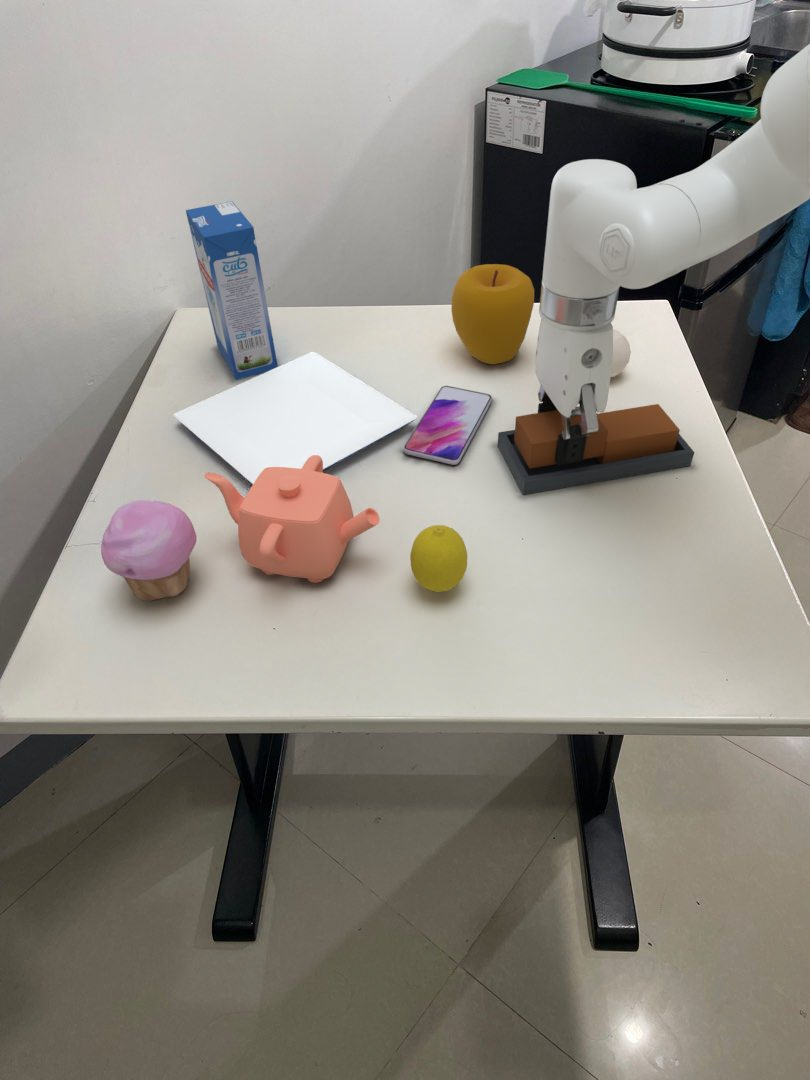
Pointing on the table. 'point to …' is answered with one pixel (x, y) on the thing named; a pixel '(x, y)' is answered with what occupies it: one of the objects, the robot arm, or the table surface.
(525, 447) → the brown brick
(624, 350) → the light bulb
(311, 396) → the plate
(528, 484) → the frame
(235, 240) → the milk carton
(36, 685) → the table surface
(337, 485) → the teapot
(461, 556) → the lemon
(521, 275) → the apple
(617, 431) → the brown rectangular block
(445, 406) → the smartphone
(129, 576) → the cupcake
